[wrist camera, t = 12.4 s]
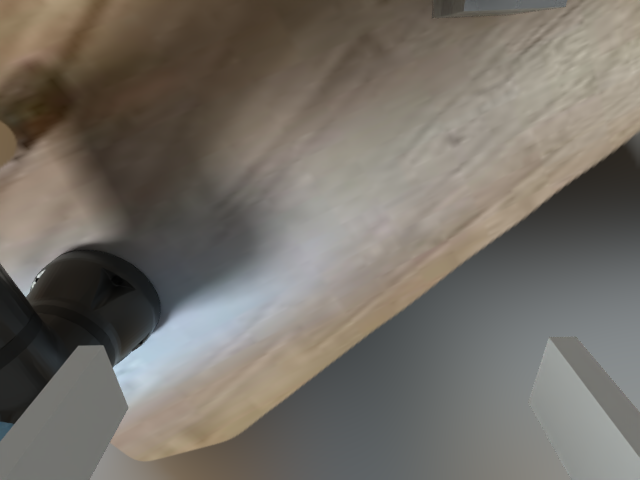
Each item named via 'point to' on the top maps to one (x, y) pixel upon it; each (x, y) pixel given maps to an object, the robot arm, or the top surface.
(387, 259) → the top surface
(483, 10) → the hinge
